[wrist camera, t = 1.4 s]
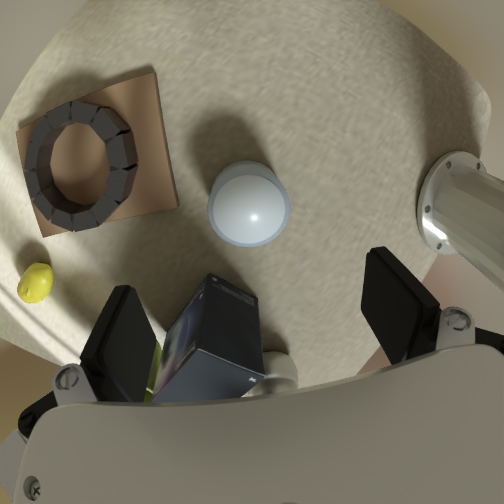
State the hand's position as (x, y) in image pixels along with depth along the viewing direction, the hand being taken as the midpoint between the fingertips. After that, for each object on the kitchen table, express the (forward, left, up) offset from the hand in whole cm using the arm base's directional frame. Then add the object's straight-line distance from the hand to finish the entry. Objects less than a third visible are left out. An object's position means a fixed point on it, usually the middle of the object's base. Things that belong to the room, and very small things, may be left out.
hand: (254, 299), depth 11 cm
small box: (+6, +13, -15) cm, 21 cm away
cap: (0, 0, -15) cm, 15 cm away
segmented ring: (+14, -6, -15) cm, 21 cm away
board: (+14, -6, -15) cm, 21 cm away
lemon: (+26, +5, -15) cm, 30 cm away
